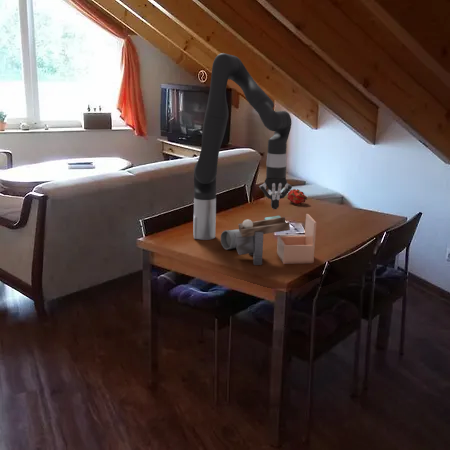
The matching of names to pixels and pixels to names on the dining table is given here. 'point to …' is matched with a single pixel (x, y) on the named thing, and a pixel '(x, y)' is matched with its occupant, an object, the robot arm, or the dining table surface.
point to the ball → (247, 224)
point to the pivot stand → (257, 247)
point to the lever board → (267, 226)
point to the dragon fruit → (296, 196)
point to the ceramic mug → (228, 239)
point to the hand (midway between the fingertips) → (274, 208)
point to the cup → (298, 245)
